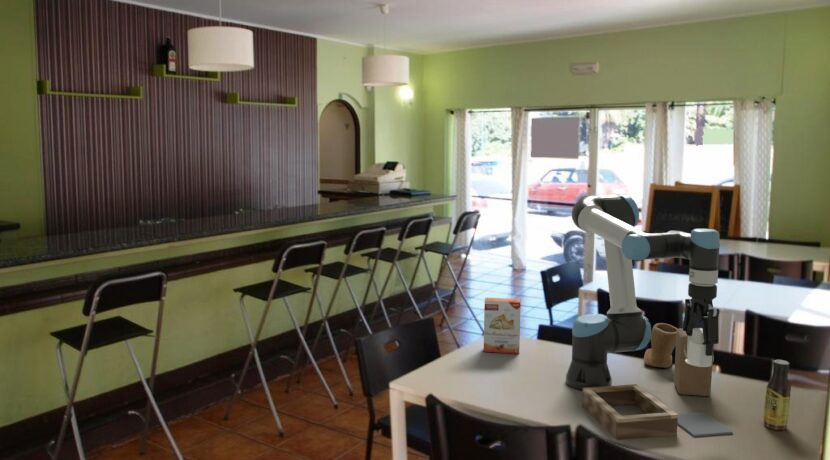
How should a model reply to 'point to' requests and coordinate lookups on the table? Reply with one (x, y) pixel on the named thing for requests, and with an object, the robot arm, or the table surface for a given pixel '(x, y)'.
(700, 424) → the rubber mat
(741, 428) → the table surface
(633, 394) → the open wooden box
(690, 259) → the robot arm
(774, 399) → the sauce bottle
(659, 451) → the table surface
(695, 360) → the downlight
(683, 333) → the wooden block
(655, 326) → the tan boot
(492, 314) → the cracker box
